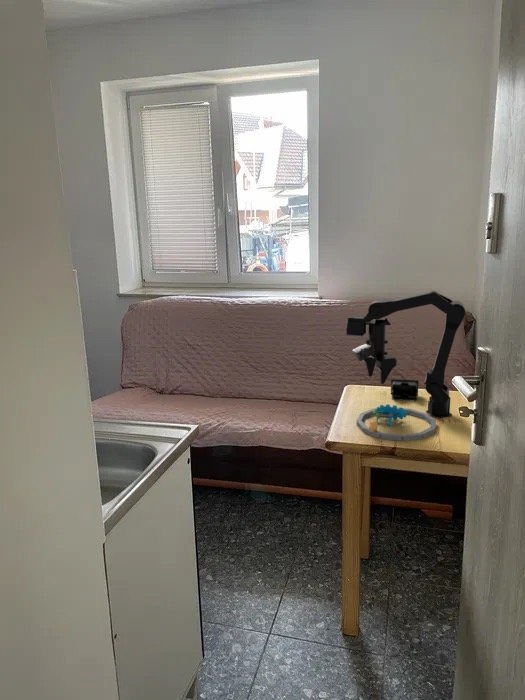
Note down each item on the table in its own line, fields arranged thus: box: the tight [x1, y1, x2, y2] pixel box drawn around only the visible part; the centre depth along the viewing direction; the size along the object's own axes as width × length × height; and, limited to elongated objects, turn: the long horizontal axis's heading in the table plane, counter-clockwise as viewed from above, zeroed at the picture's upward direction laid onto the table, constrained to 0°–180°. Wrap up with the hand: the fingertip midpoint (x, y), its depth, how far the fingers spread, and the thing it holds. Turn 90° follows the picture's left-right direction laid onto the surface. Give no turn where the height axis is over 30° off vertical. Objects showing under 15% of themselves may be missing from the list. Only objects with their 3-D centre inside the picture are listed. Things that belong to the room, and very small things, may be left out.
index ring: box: [356, 406, 437, 442], centre depth 178 cm, size 26×25×4 cm
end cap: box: [390, 378, 420, 402], centre depth 204 cm, size 10×7×7 cm
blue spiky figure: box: [373, 403, 408, 427], centre depth 180 cm, size 11×6×10 cm
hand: (376, 380), depth 191 cm, fingers open, 9 cm apart
